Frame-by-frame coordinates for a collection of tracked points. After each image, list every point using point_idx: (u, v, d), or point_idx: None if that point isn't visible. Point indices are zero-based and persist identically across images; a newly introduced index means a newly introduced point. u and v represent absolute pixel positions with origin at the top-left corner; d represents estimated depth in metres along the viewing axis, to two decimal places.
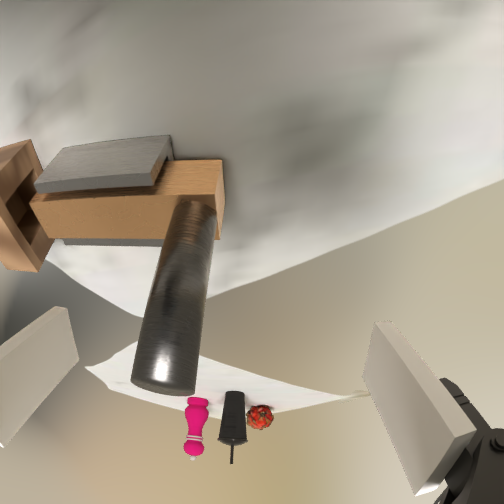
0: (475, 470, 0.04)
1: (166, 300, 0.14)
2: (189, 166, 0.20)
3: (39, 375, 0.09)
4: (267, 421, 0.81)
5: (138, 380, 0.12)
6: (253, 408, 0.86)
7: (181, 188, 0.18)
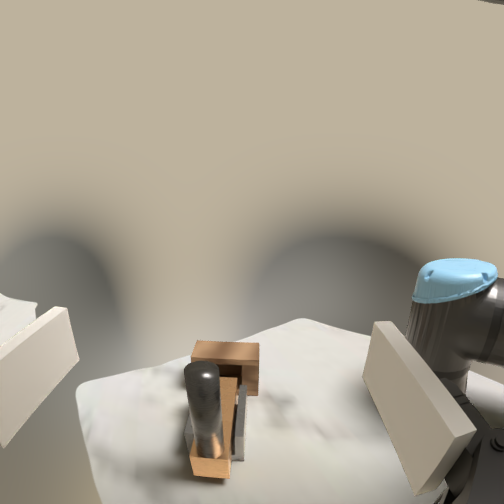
0: (475, 470, 0.04)
1: (221, 403, 0.25)
2: (230, 461, 0.28)
3: (39, 375, 0.09)
4: None
5: (211, 364, 0.25)
6: None
7: (229, 448, 0.27)
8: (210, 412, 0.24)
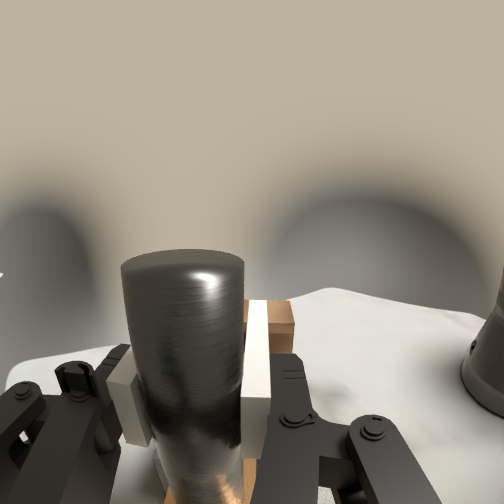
0: (262, 449, 0.05)
1: None
2: None
3: None
4: None
5: (215, 254, 0.08)
6: None
7: None
8: (209, 422, 0.07)
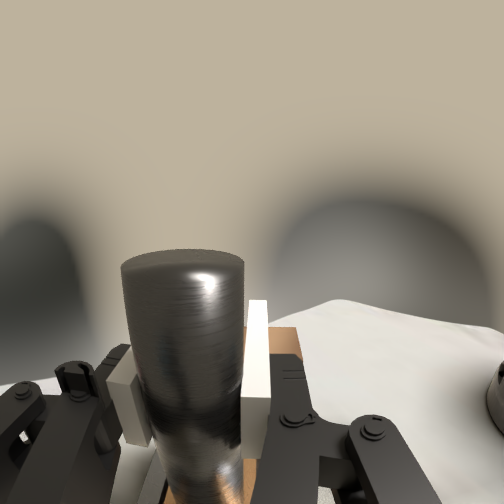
0: (262, 449, 0.05)
1: None
2: None
3: None
4: None
5: (215, 254, 0.08)
6: None
7: None
8: (209, 422, 0.07)
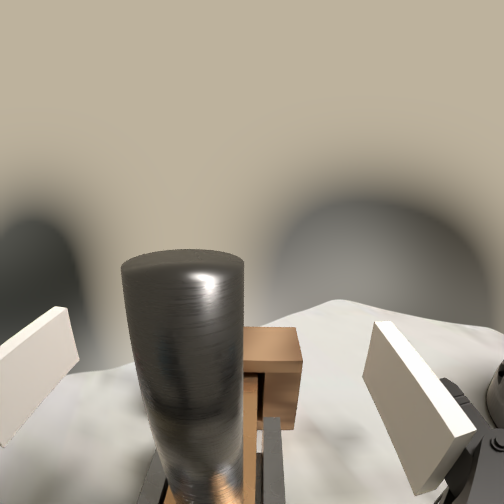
0: (475, 470, 0.04)
1: (243, 391, 0.08)
2: None
3: (39, 375, 0.09)
4: None
5: (215, 254, 0.08)
6: None
7: None
8: (209, 421, 0.07)
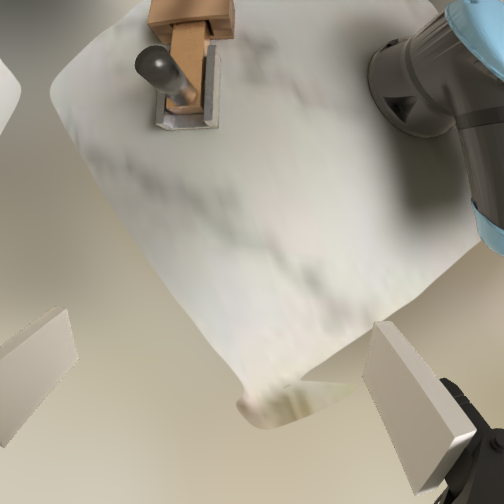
0: (475, 470, 0.04)
1: (180, 72, 0.23)
2: None
3: (39, 375, 0.09)
4: None
5: (160, 49, 0.19)
6: None
7: (201, 89, 0.31)
8: (171, 86, 0.24)
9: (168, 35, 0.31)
